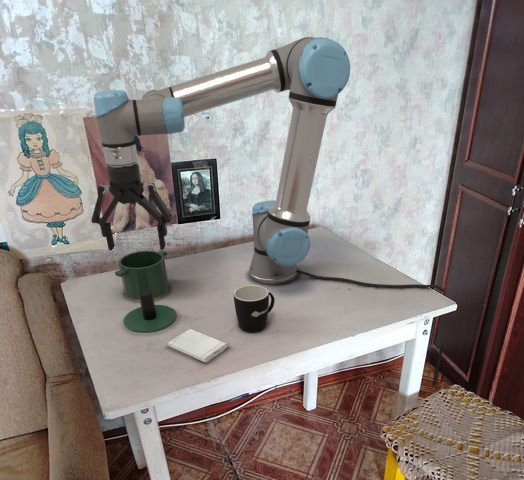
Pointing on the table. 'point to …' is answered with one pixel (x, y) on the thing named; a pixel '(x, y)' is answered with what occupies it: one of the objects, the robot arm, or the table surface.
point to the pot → (143, 273)
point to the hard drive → (198, 345)
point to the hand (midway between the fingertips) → (137, 248)
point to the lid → (149, 315)
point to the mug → (252, 307)
